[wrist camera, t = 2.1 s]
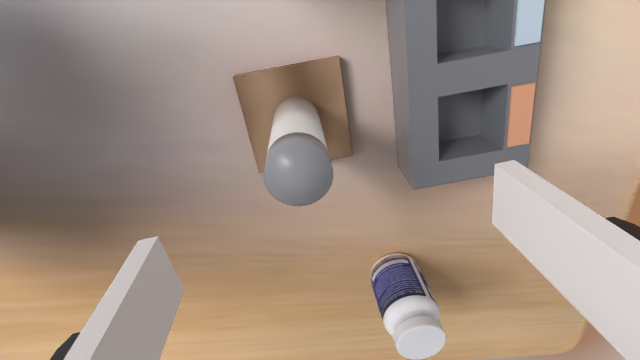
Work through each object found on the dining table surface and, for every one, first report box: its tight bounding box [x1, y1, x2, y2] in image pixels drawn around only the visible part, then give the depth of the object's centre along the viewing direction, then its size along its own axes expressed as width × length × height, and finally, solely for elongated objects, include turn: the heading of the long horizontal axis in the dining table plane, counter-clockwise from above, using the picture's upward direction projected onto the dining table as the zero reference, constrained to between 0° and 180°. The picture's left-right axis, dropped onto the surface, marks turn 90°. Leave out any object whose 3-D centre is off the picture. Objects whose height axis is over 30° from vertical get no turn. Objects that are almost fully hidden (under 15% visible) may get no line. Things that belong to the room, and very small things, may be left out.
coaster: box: [233, 56, 353, 173], centre depth 31 cm, size 9×9×1 cm
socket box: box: [386, 0, 545, 189], centre depth 28 cm, size 10×18×5 cm, turn 10°
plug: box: [264, 96, 333, 206], centre depth 25 cm, size 4×4×12 cm
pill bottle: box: [370, 253, 446, 360], centre depth 36 cm, size 6×6×10 cm
